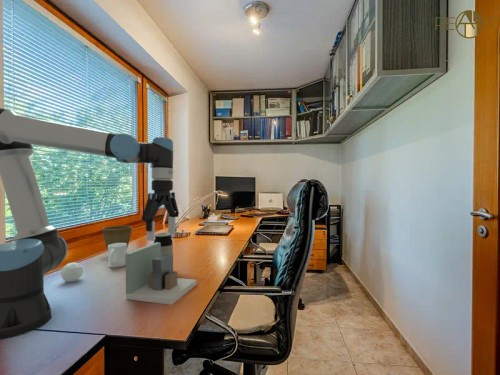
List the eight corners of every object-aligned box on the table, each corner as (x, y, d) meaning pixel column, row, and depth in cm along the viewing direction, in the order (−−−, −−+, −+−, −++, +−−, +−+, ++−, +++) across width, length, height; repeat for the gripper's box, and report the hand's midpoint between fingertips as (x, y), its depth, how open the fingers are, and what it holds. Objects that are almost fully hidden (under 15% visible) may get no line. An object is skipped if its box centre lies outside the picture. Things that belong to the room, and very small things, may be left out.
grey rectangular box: (161, 290, 95) (160, 260, 94) (152, 289, 96) (152, 259, 95) (173, 282, 102) (173, 254, 102) (165, 281, 103) (164, 253, 103)
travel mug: (153, 277, 113) (152, 236, 113) (154, 272, 121) (154, 232, 121) (172, 276, 115) (172, 235, 115) (172, 270, 123) (172, 231, 123)
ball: (68, 287, 111) (64, 269, 114) (88, 278, 113) (84, 261, 116) (58, 284, 104) (54, 265, 107) (80, 274, 106) (76, 256, 110)
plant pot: (131, 257, 145) (131, 228, 145) (100, 260, 140) (100, 230, 140) (132, 251, 159) (132, 224, 159) (104, 253, 154) (104, 226, 154)
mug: (119, 270, 124) (119, 248, 124) (101, 270, 123) (100, 248, 123) (129, 262, 136) (129, 242, 136) (113, 262, 135) (112, 242, 135)
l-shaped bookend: (171, 304, 88) (171, 256, 88) (125, 298, 93) (125, 253, 92) (196, 284, 105) (195, 244, 105) (156, 280, 110) (156, 242, 110)
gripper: (150, 179, 85) (149, 244, 86) (187, 180, 109) (187, 231, 110) (130, 178, 87) (130, 243, 88) (171, 180, 111) (171, 230, 112)
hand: (161, 236), depth 99 cm, fingers open, 13 cm apart
